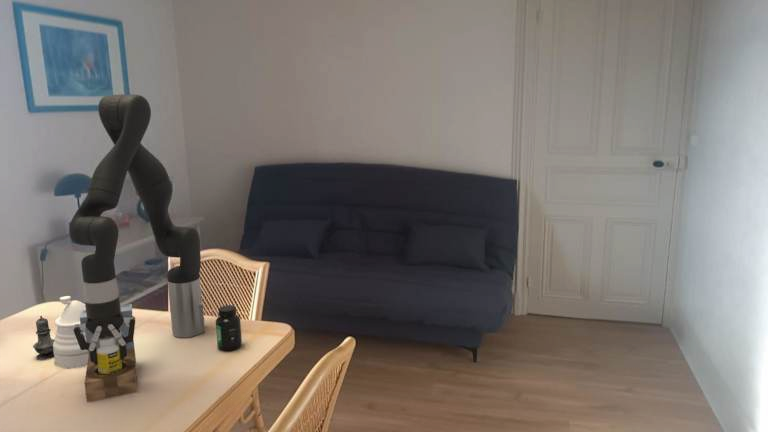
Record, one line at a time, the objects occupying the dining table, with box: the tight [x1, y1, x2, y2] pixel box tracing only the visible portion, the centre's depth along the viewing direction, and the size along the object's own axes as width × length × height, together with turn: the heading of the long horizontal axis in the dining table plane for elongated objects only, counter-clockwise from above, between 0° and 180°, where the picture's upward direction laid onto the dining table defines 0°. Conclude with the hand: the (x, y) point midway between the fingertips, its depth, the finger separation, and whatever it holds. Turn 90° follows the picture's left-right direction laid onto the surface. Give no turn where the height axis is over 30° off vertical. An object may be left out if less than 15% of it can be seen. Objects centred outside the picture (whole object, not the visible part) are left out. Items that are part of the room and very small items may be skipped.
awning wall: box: [80, 303, 137, 360], centre depth 148 cm, size 12×5×17 cm, turn 114°
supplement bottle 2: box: [215, 304, 243, 353], centre depth 162 cm, size 7×7×12 cm
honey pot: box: [53, 295, 88, 369], centre depth 156 cm, size 13×13×18 cm
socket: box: [84, 349, 138, 403], centre depth 143 cm, size 11×15×5 cm
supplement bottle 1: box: [96, 335, 122, 375], centre depth 140 cm, size 5×5×10 cm
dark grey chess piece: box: [32, 315, 55, 361], centre depth 157 cm, size 6×6×12 cm
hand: (109, 360), depth 140 cm, fingers closed on supplement bottle 1, 5 cm apart
